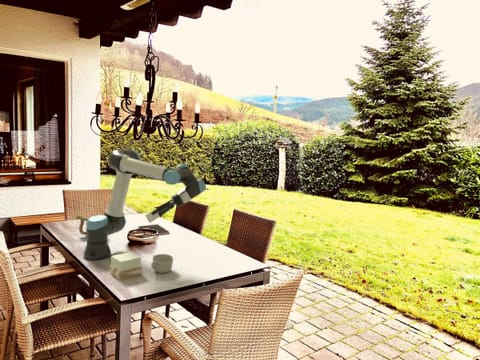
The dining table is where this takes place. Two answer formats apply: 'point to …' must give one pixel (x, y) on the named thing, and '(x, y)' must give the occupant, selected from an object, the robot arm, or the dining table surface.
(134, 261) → the tower top
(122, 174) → the robot arm
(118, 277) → the tower base
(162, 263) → the teacup
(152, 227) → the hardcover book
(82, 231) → the tankard
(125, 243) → the dining table surface
